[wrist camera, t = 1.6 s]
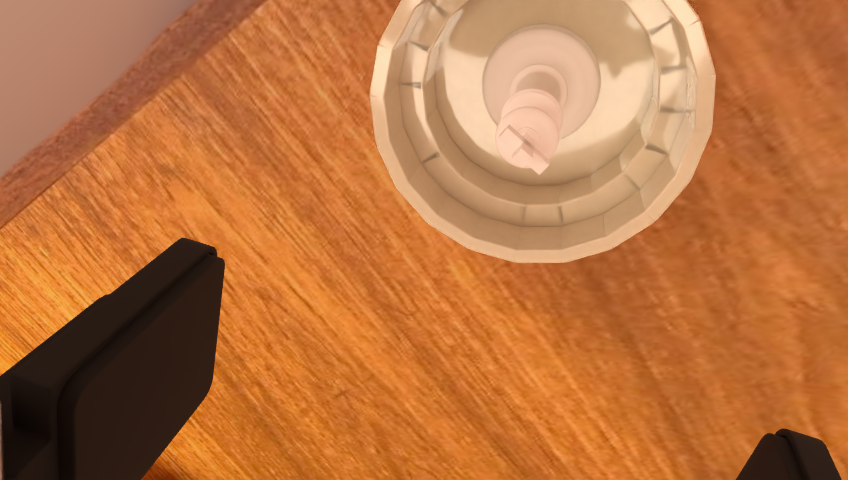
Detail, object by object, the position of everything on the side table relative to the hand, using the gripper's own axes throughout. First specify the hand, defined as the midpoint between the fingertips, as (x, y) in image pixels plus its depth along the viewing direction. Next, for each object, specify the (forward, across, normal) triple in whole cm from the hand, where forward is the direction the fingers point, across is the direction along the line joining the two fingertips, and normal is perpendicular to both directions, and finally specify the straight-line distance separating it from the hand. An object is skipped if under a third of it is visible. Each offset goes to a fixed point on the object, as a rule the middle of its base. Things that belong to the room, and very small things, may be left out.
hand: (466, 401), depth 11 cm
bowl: (+20, 0, -1) cm, 20 cm away
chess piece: (+20, 0, -1) cm, 20 cm away
